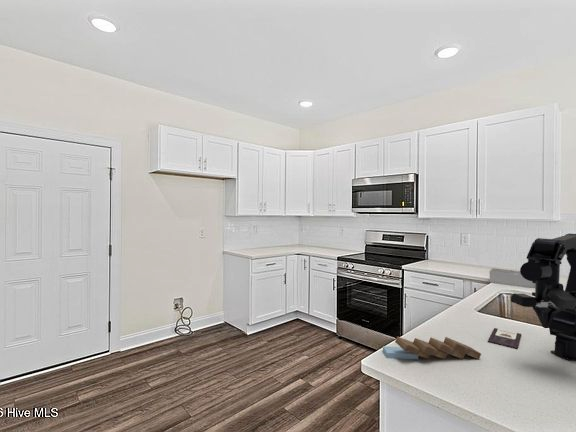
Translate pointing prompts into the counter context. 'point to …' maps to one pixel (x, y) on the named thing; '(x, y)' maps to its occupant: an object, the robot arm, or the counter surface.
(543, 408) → the counter surface
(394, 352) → the domino
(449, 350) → the domino
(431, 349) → the domino
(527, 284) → the gray rectangular block
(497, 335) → the chocolate bar
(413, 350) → the domino
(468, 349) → the domino
